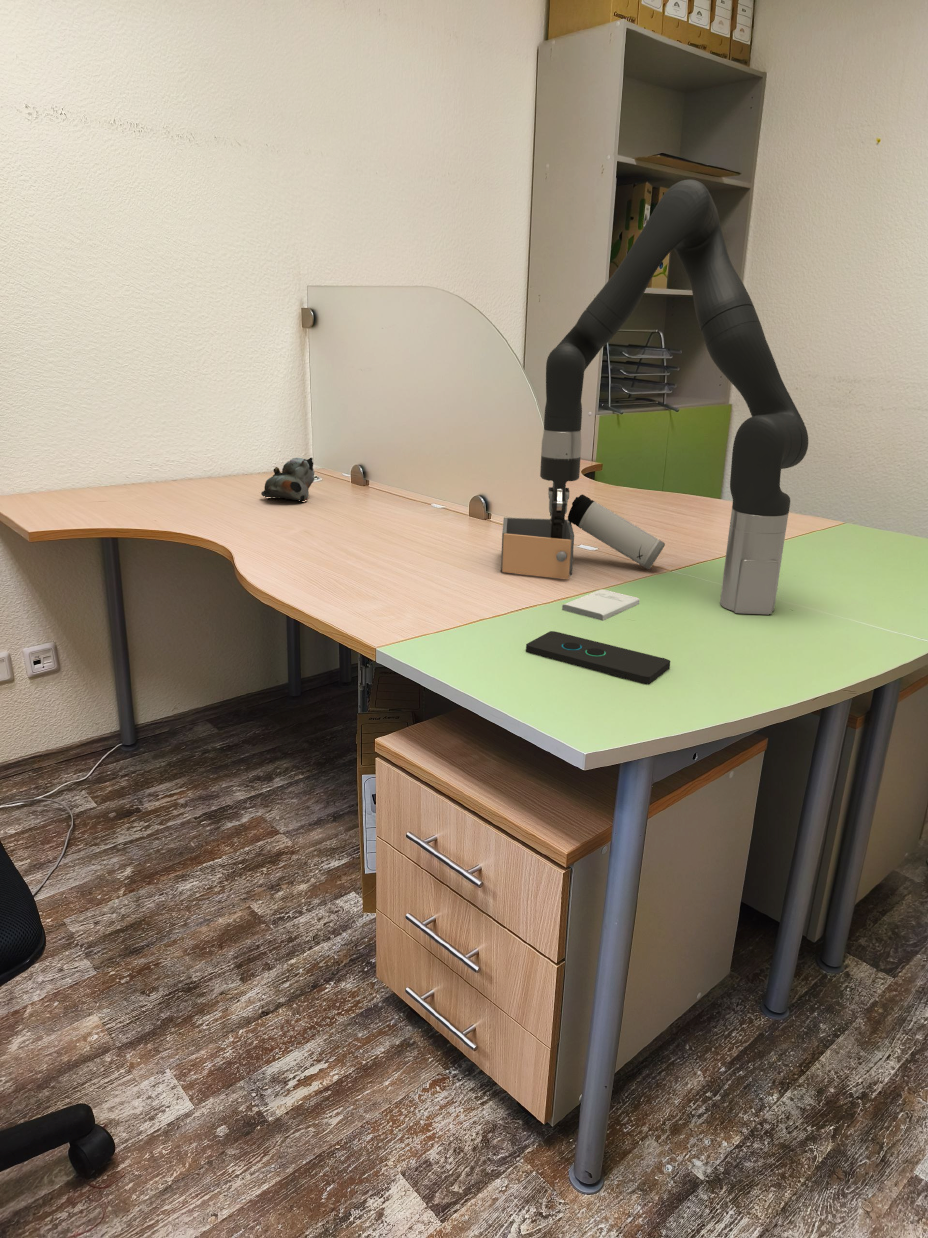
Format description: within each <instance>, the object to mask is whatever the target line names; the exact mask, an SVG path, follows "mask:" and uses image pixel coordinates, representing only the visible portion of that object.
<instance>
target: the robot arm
mask: <svg viewBox="0 0 928 1238" xmlns="http://www.w3.org/2000/svg"><path fill="white" fill-rule="evenodd" d="M673 250H674V251H675V253H676V254H677V257H678V259H679V261H680V263H681V265H682V266H683V269H684V271H685V273H686V275H687V277H688V280H689V283H690V287H691V292H692V293H691V294H692V298H693V306H694V311H695V316H696V319H697V323H698V324H697V325H698V327H699V330H700V333H701V335H702V338H703V341H704V344H705V346H706V349H707V352H708V354H709V356H710V358H711V360H712V361H713V364H715V365H716V367H717V368H718V370H719V371H720V372H721V373H722V374H723V375H724V376H725V378H727V380H728V381H729V382H730V383H731V384H732V385H733V386H734V388H735V389H736V390H737V391H738V393H740V395H741V396H742V398H743V400H744V401H745V404H746V406H747V408H748V410H749V412H750V416H751V417H749V418H747V419H745V420H744V421H743V422H742V423H741V425H740V426H739V427H738V429H737V431H736V433H735V436H734V440H733V445H732V454H731V464H730V479H729V489H730V494H731V498H732V504H731V505H732V506H731V513H730V519H729V521H730V522H729V529H728V535H727V545H726V552H725V557H724V558H725V561H724V566H723V567H724V568H723V573H722V574H723V576H722V582H721V583H722V584H721V592H720V599H719V604H720V606H722V607H723V608H725V609H726V610H729V611H732V612H734V613H735V614H743V615H744V614H748V615H769V614H771V615H772V613H773V611H774V610H775V606H776V600H777V593H778V586H779V578H780V572H781V566H782V565H781V564H782V561H783V560H782V559H783V552H784V547H785V546H784V545H785V540H786V539H785V538H786V532H787V526H788V519H789V513H790V507H791V497H790V496H789V495H788V494H787V492H786V493H785V492H783V490H782V489H781V472H782V470H785V469H789V468H793V467H795V466H796V465H798V464H800V463H801V462H802V461H803V459H805V457H806V454H807V452H808V449H809V435H808V430H807V427H806V424H805V422H804V420H803V418H802V416H801V414H800V412H799V410H798V408H797V406H796V405H795V402H794V401H793V399H792V397H791V396H790V395H791V394H790V393H789V392H788V390H787V387H786V386H785V384H784V381H783V379H782V377H781V374H780V372H779V369H778V366H777V363H776V360H775V357H774V356H773V353H772V352H771V349H770V346H769V344H768V341H767V339H766V336H765V333H764V330H763V329H764V328H763V327H762V323H761V322H760V321H761V320H760V319H759V315H758V313H757V311H756V308H755V306H754V303H753V301H752V299H751V296H750V294H749V292H748V291H747V288H746V286H745V284H744V283H743V281H742V279H741V278H740V276H739V274H738V273H737V271H736V269H735V267H734V265H733V264H732V262H731V259H730V256H729V254H728V249H727V246H726V242H725V238H724V234H723V231H722V226H721V221H720V217H719V212H718V208H717V206H716V204H715V202H714V200H713V197H712V195H711V193H710V191H709V189H708V188H707V187H706V186H705V184H704V183H702V182H701V181H699V180H695V179H684V180H683V179H682V180H680V181H678V182H675V183H674V184H672V185H671V186H670V187H669V188H668V189H667V190H666V191H665V193H663V195H662V196H661V198H660V200H659V201H658V203H657V204H656V205H655V207H654V209H653V211H652V212H651V214H650V216H649V218H648V220H647V221H646V223H645V225H644V226H643V228H642V230H641V232H640V233H639V235H638V236H637V237H636V239H635V241H634V242H633V244H632V245H631V247H630V249H629V250H628V252H627V253H626V254H625V257H624V258H623V260H622V261H621V263H620V264H619V265H618V267H617V269H615V271H614V272H613V274H612V275H611V277H610V278H609V279H608V281H607V282H606V283H605V284H604V286H603V287H602V288H601V289H600V290H599V292H598V293H597V294H596V296H595V297H594V298H593V300H592V301H591V302H590V303H589V304H588V305H587V307H586V308H585V309H584V310H583V312H582V313H581V314H580V316H579V318H578V319H577V322H576V323H575V325H574V326H572V328H571V329H570V330H569V332H568V333H567V334H565V336H564V337H563V339H562V340H561V341H560V342H559V343H557V346H555V347H554V348H553V349H552V350H551V351H550V352H549V354H548V356H547V358H546V364H545V365H546V366H545V396H546V397H545V398H546V401H545V408H544V419H543V433H542V437H541V438H542V439H541V452H540V453H541V454H540V469H539V471H540V472H539V477H540V478H541V479H542V480H543V481H544V480H545V481H548V482H549V481H550V482H552V486H550V487H549V486H548V493H547V495H548V499H549V500H548V511H549V516H550V518H549V519H550V523H551V537H550V538H558V539H562V530H563V524H564V522H565V520H566V519H565V517H566V515H567V512H568V501H569V500H570V488H569V487H566V485H567V483H568V482H575V481H577V480H579V479H580V473H581V456H582V431H581V430H582V422H583V421H582V419H583V417H582V416H583V404H582V397H583V388H584V387H583V386H584V379H585V371H586V370H587V368H588V366H590V364H591V363H592V361H593V360H594V359H595V358H596V356H597V355H598V354H599V352H600V351H601V350H602V348H603V347H605V346H606V345H607V344H608V343H609V342H610V341H611V340H612V339H613V338H614V337H615V335H616V334H617V333H618V332H619V330H621V328H623V326H624V325H625V323H626V322H628V320H629V318H630V317H631V316H632V315H633V313H634V312H635V310H636V309H637V307H638V305H639V304H640V302H641V300H642V298H643V295H644V294H645V291H646V290H647V288H648V287H649V284H650V282H651V280H652V278H654V277H653V276H654V275H655V273H656V271H658V269H659V267H660V266H661V264H662V263H663V261H664V260H665V259H666V258H667V257H668V255H669V254H670V252H672V251H673Z"/></svg>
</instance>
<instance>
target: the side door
mask: <svg viewBox="0 0 928 1238" xmlns="http://www.w3.org/2000/svg"><path fill="white" fill-rule="evenodd" d="M571 541H572V540H568V539H558V538H547V537H537V536H527V535H517V534H507V533H505V534H504V540H503V567H502V572H501V573H507V572H508V573H510V574H516V575H517V574H519V575H524V576H525V575H526V576H535V577H536V576H537V577H543V578H544V577H545V578H552V579H553V578H554V579H563V580H569V579H570V575H569V572H570V556H571ZM508 573H507V574H508Z"/></svg>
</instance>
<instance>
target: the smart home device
mask: <svg viewBox="0 0 928 1238" xmlns="http://www.w3.org/2000/svg"><path fill="white" fill-rule="evenodd" d="M525 652H526V653H528V654H532V655H535V656H539V657H542V658H546V659H549V660H553V661H557V662H561V663H564V664H568V665H572V666H575V667H579V668H582V669H587V670H590V671H593V672H598V673H602V674H606V675H609V676H612V677H616V678H619V679H622V680H626V681H627V680H628V681H631V682H635V683H639V684H643V685H651V683H653V682H654V681H655V680H657V679H658V678H660V677H661V676H662V675H663V674H665V673H666V672H667V671H669V669H670V668H671V660H670V659H668V658H663V657H661V656H656V655H653V654H648V653H644V652H642V651H641V652H640V651H637V650H631V649H627V648H623V647H621V646H620V647H619V646H617V645H611V644H608V643H604V642H600V641H595V640H592V639H588V638H584V637H580V636H575V635H570V634H569V633H568V634H567V633H564V632H559V631H553V630H552V631H551V630H550V631H548V632H546V633H544V634H543V635H540V636H538V637H537V638H535V639H533V640H531V641H529V642H527V643H526V645H525Z"/></svg>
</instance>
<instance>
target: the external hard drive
mask: <svg viewBox="0 0 928 1238" xmlns="http://www.w3.org/2000/svg"><path fill="white" fill-rule="evenodd" d="M637 605H638V606H639V605H640V598H638V597H636V596H631V595H628V594H624V593H623V594H622V593H619V592H617V591H616V592H614V591H613V590H612V591H611V590H608V589H601V588H600V589H598V590H596V591H594V592H591V593H588V594H586V595H583V596H581V597H578V598H576V599H573V600H570V601H569V602H566V603H563V604H562V606H561V608H562V609H561V610H562V611H565V612H569V613H571V614H576V615H580V616H583V617H586V618H587V617H588V618H592V619H593V620H594V619H595V620H598V621H606V620H607V619H609V618H612V617H614V616H616V615H618V614H620V613H622V612H623V613H624V611H626V610H629V609H631V608H633V607H635V606H637Z"/></svg>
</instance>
